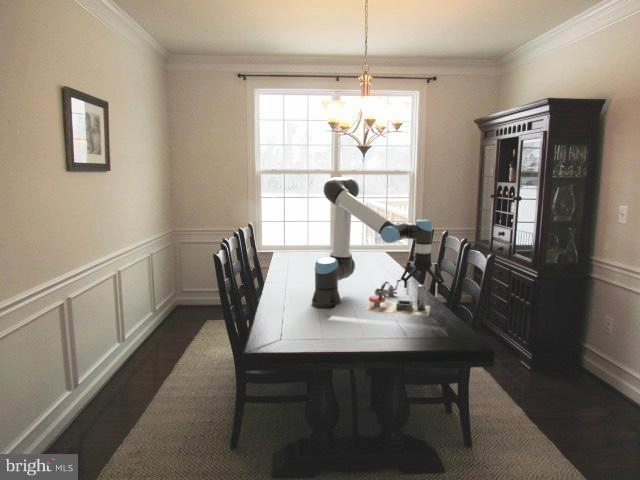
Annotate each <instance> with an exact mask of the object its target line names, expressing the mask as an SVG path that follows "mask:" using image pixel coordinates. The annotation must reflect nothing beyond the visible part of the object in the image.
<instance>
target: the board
mask: <svg viewBox="0 0 640 480" xmlns="http://www.w3.org/2000/svg"><path fill="white" fill-rule="evenodd" d="M365 311H368V312H377V313H378V312H380V313H388V314H389V313H391V314H403V315H411V316H426V317H429V315H430V311H431V305H426V308H425V311H419V310H417V304H415V303H414V304H413V300H402V299H401V300H400V299H398V300H397V302H389V301H385V302H382V303H380V307H374V302H370V301H369V303H368V305H367V307H366V308H365Z"/></svg>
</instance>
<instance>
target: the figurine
mask: <svg viewBox="0 0 640 480" xmlns="http://www.w3.org/2000/svg"><path fill="white" fill-rule="evenodd" d="M399 282H402V280H401V279H397V281H396V285H395V287H393V285H391V284H390V282H389V281H385V282H383V283H382V285H381V286H380V287H381V288H378V287H377V288H376V289H375V290H374V296H379V291H382V296H384V297H387V296H389V297H395V295H398V292H397V290H398V287H399V286H398V285H399ZM386 285H387V286H388V289H385V287H386Z"/></svg>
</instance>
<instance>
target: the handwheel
mask: <svg viewBox="0 0 640 480" xmlns="http://www.w3.org/2000/svg"><path fill="white" fill-rule="evenodd" d="M368 301H369V303H370V302H374V307H380V303H382V302H386V296H383V295H382V291H379V295H378V296H376V295H371V296H369V297H368Z"/></svg>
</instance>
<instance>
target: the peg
mask: <svg viewBox="0 0 640 480" xmlns="http://www.w3.org/2000/svg"><path fill="white" fill-rule="evenodd" d="M416 298H417V301H416V302H417V303H416V305H417V310H419V311H425V308H426V306H427V304H426V303H427V285H426V284H417V297H416Z"/></svg>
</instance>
